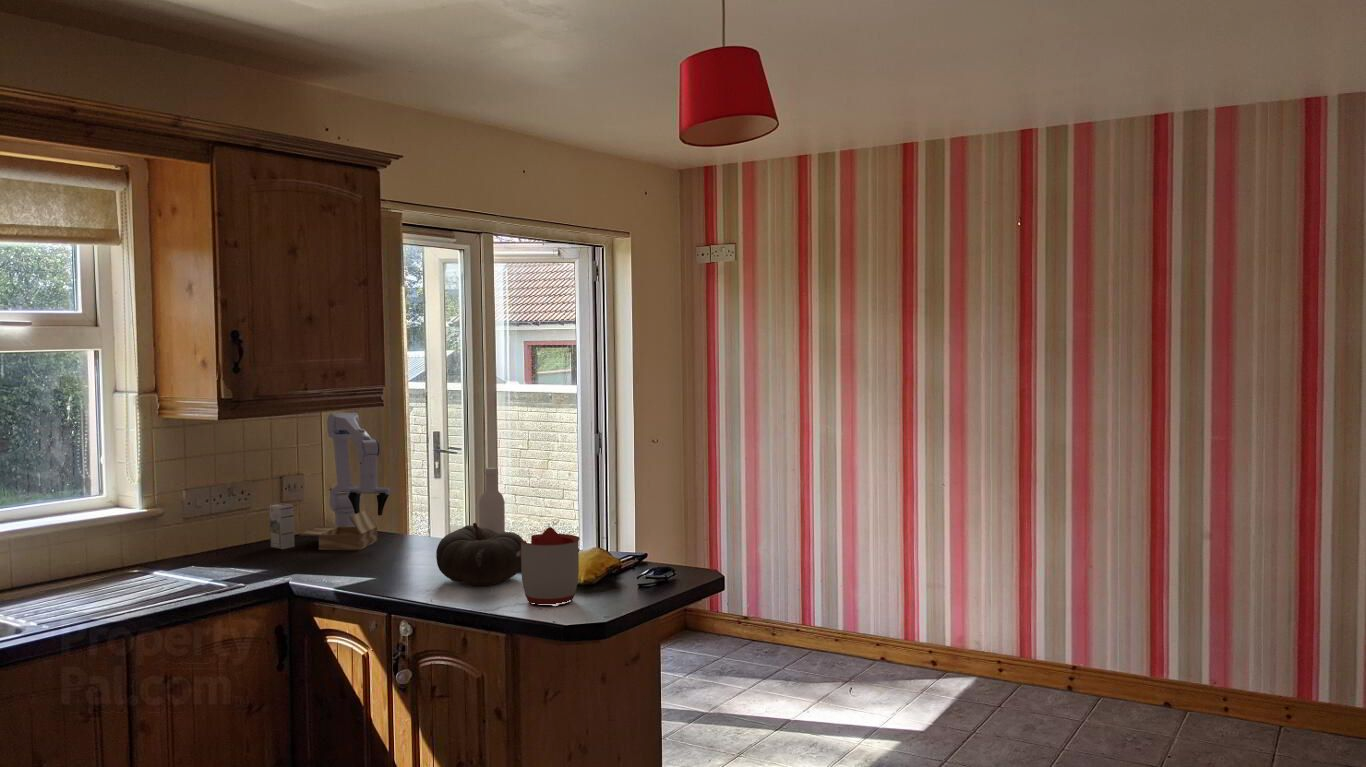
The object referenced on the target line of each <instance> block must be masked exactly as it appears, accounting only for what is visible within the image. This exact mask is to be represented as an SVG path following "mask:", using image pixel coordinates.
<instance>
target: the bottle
mask: <svg viewBox="0 0 1366 767" xmlns="http://www.w3.org/2000/svg"><path fill="white" fill-rule="evenodd" d="M498 470H499V469H498V468H497V467H487V468H485V472H484V474H485V491H484V492H483V493H482V494H481V496H480V499H479V502H478V511H479V512H478V517H479V519H478V520H479V521H478V523H479V524H478V527H480V528H482V529H483V528H487V529H489V530H492V531H494V532H497V533H502V532H506V521H505V519H506V518H505V516H506V515H505V514H506V512H505V511H506V510H505V509H506V508H505V507H506V506H505V504H506V503H505V498H504V495H503V494H502V493H501V492H500V491H499V490H498V488H499V486H498V480H499V479H498V474H499V471H498Z"/></svg>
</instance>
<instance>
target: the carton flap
mask: <svg viewBox="0 0 1366 767" xmlns="http://www.w3.org/2000/svg"><path fill="white" fill-rule="evenodd" d="M349 518H350V520H351V521H352V523H353V524H354V526H355V527H356V529H357V530H358V532H359V533H360V535H361V534H363V533H365V532H367V531H369V530H372V529H374V528H376V527H377V528H378V525H377V524H376V522H375V520H374V519H373V518H372V516H371V514H370V513H369V512H368V510H367V509H365V510H362V511H360V512H359V513H357V514H355V515H352V516H350V517H349Z"/></svg>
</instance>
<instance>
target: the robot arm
mask: <svg viewBox="0 0 1366 767" xmlns="http://www.w3.org/2000/svg"><path fill="white" fill-rule="evenodd" d="M326 424H327V425H326V426H327V427H326V428H327V434H328V438H330V439H332V442H333V451H334V460H335V473H336V483H337V484H336V485H335V486H334V487H332V488H331V490H330V492H329V507H330V510H332V511H333V512H334V527H355V526H354V524H353V523H352V521H351V520H350V518H349V517H350V516H352V515H355V514H357V513H360V512H361V511H360V507H361V506H362V496H361V495H363V494H365V495H367V494H369V495H370V494H371V495H372V494H373V495H376V501H377V502H376V503H377V516H382V515H383V512H384V508H385V504H386V502H387V500H388V498H389V496H390V494H391V488H390V487H380V486H378V456H379V455H380V451H381V445H380V442H379V440H378V439H377V438H372V437H371V436H370V435H369V433H368V432H367V431H366V429H364V428H361V427H360V417H359V414H358V413H357V412H342V413H332V412H331V413H329V415H328V417H327V420H326ZM349 438H350V440H351V441H352V443H353V444H354V446H355V447H356V453H357V461H358V462H359V486H357V485H355V484H354V483H353V482H352V473H351V464H350V454H349V453H350V452H349V441H348V440H349Z"/></svg>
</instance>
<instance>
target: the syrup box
mask: <svg viewBox="0 0 1366 767" xmlns="http://www.w3.org/2000/svg"><path fill="white" fill-rule="evenodd" d="M294 510H295V509H294V504H288V503H276V504H275V503H274V504H272V505H271V504H270V505H269V533H270V534H269V536H270V537H269V538H270V539H269V540H270V548H272V549H279V550H286V549H290V548H295V514H294V513H295V511H294Z"/></svg>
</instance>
